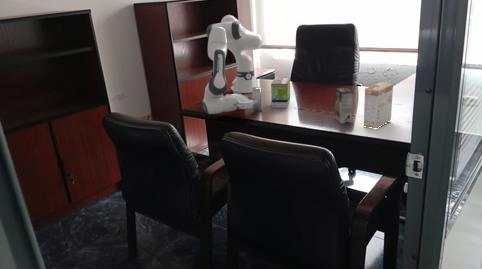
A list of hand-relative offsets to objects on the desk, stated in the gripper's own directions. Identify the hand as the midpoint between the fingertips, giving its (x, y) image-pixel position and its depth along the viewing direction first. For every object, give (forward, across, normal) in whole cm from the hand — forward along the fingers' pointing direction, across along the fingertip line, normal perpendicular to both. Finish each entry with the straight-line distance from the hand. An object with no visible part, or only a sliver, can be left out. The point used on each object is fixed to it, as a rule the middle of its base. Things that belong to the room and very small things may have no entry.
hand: (254, 99), depth 228 cm
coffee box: (+34, -38, +8) cm, 51 cm away
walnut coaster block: (-5, +12, +8) cm, 15 cm away
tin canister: (+1, 0, +8) cm, 8 cm away
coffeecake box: (+44, -52, +8) cm, 68 cm away
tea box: (+19, +6, +8) cm, 22 cm away
